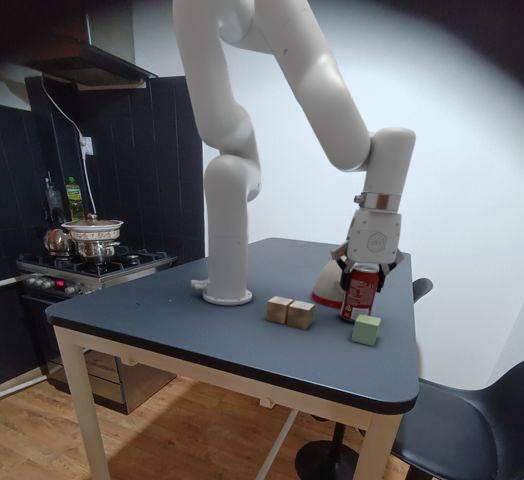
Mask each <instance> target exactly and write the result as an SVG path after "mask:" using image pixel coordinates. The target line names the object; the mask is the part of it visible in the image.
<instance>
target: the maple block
mask: <svg viewBox="0 0 524 480" xmlns="http://www.w3.org/2000/svg"><path fill="white" fill-rule="evenodd" d="M293 302H294V299H291V298H286V297H281V296H276V295H275V296H272V298H270V299H269V300H267V303H266V305H267V306H266V317H265V320H266V321H269V322H273V323H277V324H281V325H285V324H287V319H288V310H289V306H290V305H291V304H292V303H293Z"/></svg>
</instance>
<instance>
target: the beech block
mask: <svg viewBox="0 0 524 480" xmlns="http://www.w3.org/2000/svg"><path fill="white" fill-rule="evenodd" d="M315 306H316V304H315V303H311V302H306V301H300V300H298V299H297V300H294V301H293V303H292V304H291V305H290V306H289V310H288V319H287V322H286V326H288V327H289V326H290V327H293V328H298V329H301V330H308V328H309V327H310V326H311V325H312V324H313V319H314V313H315Z"/></svg>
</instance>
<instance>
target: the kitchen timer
mask: <svg viewBox="0 0 524 480" xmlns="http://www.w3.org/2000/svg"><path fill="white" fill-rule="evenodd" d="M338 246H339V245H338ZM338 246H336V248H337V247H338ZM332 251H333V250H330V253H331V252H332ZM330 255H331V254H330ZM340 257H341V258H342V260H343V261H345V260H346V258H347V257H345V256H344V252H343V253H341V255H340ZM331 258H332V259H331V260H330V261H328V262H327V264H326V265H325V266H324V267H323V268H322V269H321V271H320V273H319V274H318V277H317V278H316V280H315V282H314V285H313V288H312V295H311V297H312V300H314V302H316V303H318V304H321V305H323V306H326V307H330V308H336V309H341V306H342V301H343V296H344V290H343V289H342V288H341V286H340V279H341V274H342V270H341V268H340V267H339V266H338V264H337V263H336V261H335V260H334V258H333V256H332V255H331ZM354 265H359V263H358V262H356V263H355V264H354ZM351 270H352V269H351ZM351 270H350V271H351Z"/></svg>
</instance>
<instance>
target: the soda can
mask: <svg viewBox="0 0 524 480" xmlns="http://www.w3.org/2000/svg"><path fill="white" fill-rule="evenodd" d="M378 271H379V268H378V267H377V268H376V267H373V266H370V265H364V264H358V265H354V266H353V267H352V270H351V271H350V274H351V279H350V284H349V289H348V291H344V296H343V301H342V306H341V308H340V311H339V316H340V317H341V318H342V319H344V321H346V322H349V323H352V324H355V321H356V319H357V317H358V316H359V314H362V315H367V316H371V314H372V313H371V312H372V309H373V305H374V302H375V297H376V294H377V292H376V290H377V286H378V282H379V276H378V274H377V272H378Z"/></svg>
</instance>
